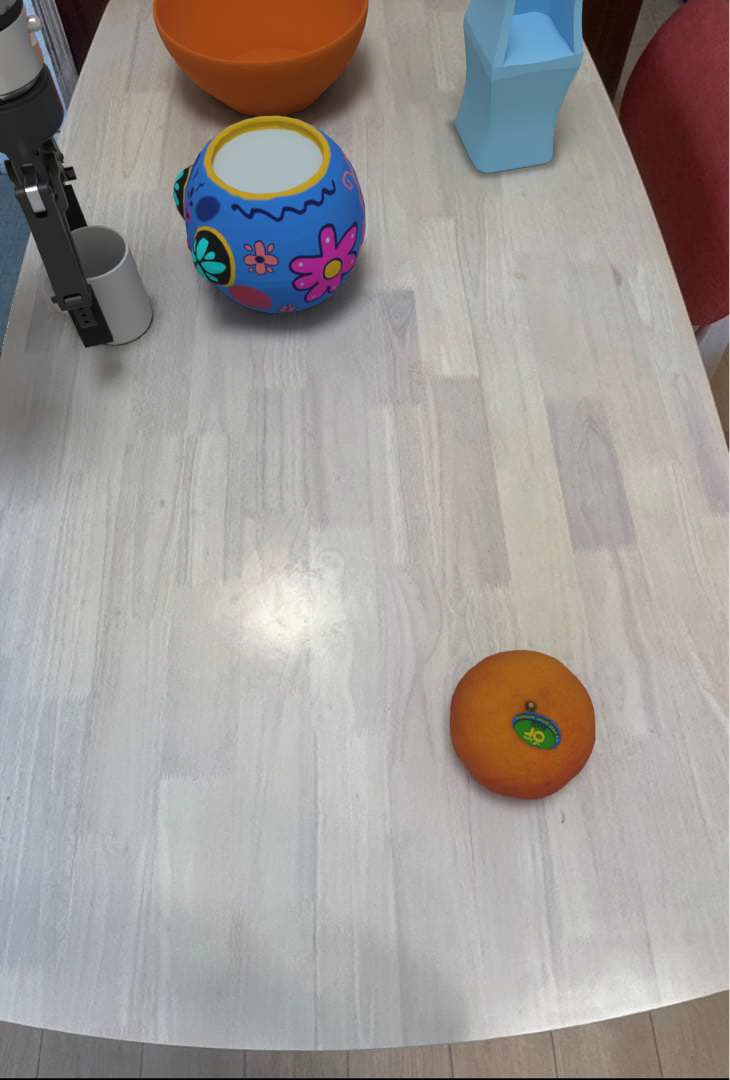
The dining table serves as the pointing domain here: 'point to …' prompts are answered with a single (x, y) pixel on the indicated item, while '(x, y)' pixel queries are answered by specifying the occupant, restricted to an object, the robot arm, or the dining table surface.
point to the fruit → (522, 724)
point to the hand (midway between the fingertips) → (89, 291)
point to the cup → (108, 281)
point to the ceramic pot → (272, 213)
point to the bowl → (262, 48)
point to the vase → (516, 79)
